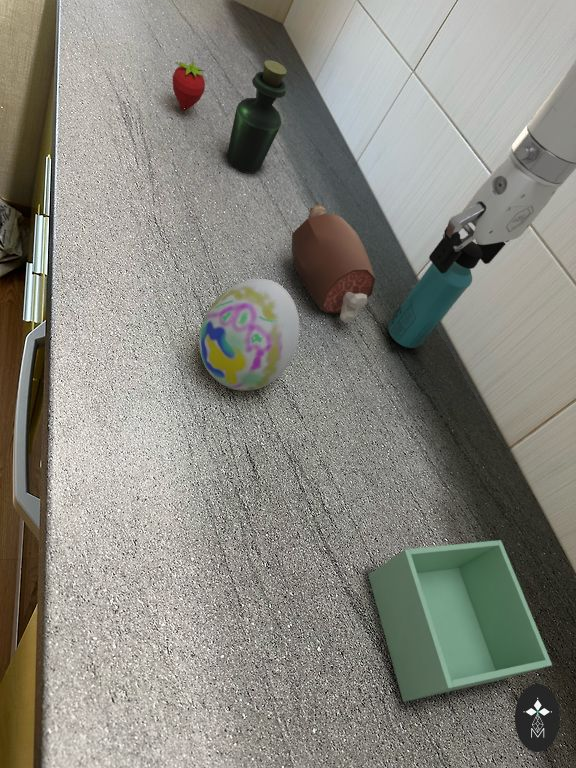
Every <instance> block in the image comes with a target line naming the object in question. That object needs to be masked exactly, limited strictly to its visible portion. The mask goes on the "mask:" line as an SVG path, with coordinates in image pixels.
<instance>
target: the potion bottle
mask: <svg viewBox="0 0 576 768" xmlns="http://www.w3.org/2000/svg"><path fill="white" fill-rule="evenodd" d="M287 72H288V71H287V69H286V67H285V66H284V65H282V64H281V63H279V62H277V61H275V60H271V59H269V60H267V59H266V60H265V61H264V63H263V70H262V71H258V72H257V73H256V74H255V75H254V76H253V78H252V80H251V83H252V86H253V87H254V88H255V89H256V91H255V93H256V94H255V97H246V98H243V99H242V100H241V101H240V102H238V104H237V106H236V108H235V114H234V119H233V123H232V128H231V133H230V137H229V143H228V147H227V148H228V149H227V153H226V158H227V162H228V163H229V164H230V166H231V167H233V168H235V169H236V170H237V171H239V172H242V173H247V174H253V173H255V174H256V173H257V172H258V171H260V170H261V168H262V166H263V164H264V161H265V160H266V157H267V155H268V153H269V151H270V149H271V147H272V145H273V143H274V141H275V139H276V136H277V135H278V132H279V131H280V129H281V125H282V116H281V114H280V112H279V110H277V108H276V106H274V103H275V102H276V100H277V99H282V98H283V97H285V96H286V92H287V86H286V83H285V82H284V81H283V79H284V77H285V76H286V74H287Z"/></svg>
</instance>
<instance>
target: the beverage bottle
mask: <svg viewBox="0 0 576 768" xmlns="http://www.w3.org/2000/svg"><path fill="white" fill-rule="evenodd" d="M462 239H463V238H460V240H462ZM460 251H461V252H462V253H461V254H460V256H459V257H458V258H457V259H456V261H455V262H454V263H453V264H452V266H451V267H450V268H449V269H448V271H447V272H446V273H440V271H439V270H438V269H437V268H436V267H435V265H434V264H433V263H432V262H431V264H430V265H429V267H428V268H427V269H426V271H425V272H424V274H422V277H420V278H418V281H417V283H416V284H415V285H414V287H412V289H411V290H410V292H409V293H408V294H407V296H406V297H405V298H404V300H403V301H402V303H401V304H400V306H398V307H397V310H395V312H394V314H393V315H392V316H391V318H390V319H389V321H388V325H387V326H388V327H387V329H388V333H389V335H390V336H391V338H392V339H393V341H395V342H396V343H397V344H399V345H400V346H402V347H405V348H407V349H414V348H417V347H420V346H421V345H423V343H425V342H426V340H427V339H428V337H429V336H430V335H431V334H432V333H433V332H434V331H435V329H436V328H437V327H438V324H441V322H442V321H443V320H444V318H445V317H446V316H447V314H448V313H449V312H450V310H452V308H453V306H454V304H456V302H458V299H460V298H461V296H462V295H463V294H464V292H465V291H466V290H467V289H468V288H470V286H471V285H472V283H473V274H472V271H471V269H475V267H476V266H477V265H478V263H479V262H480V260H481V257H482V254H483V253H482V250H481V248H480V247H479V246H478V245H477V243H476V242H475V241H474V240H473V241H471V242H470V243H469V244H467V245H466V246H465V247H463V248H462V249H461V250H460Z"/></svg>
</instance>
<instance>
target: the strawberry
mask: <svg viewBox="0 0 576 768" xmlns="http://www.w3.org/2000/svg"><path fill="white" fill-rule="evenodd" d="M189 58H190V60H191V61H192V62H191V63H189V65H188V64H187V63H183V62H181V61H180V62H175V65H178V67H177V68H175V70H174V72H173V74H172V77H171V78H172V90H173V93H174V95H175V98H176V100H177V103H178V105H179V107H180V110H182V111H183V112H187V111H188V110H189V109H190V108H192V107H194V106H195V105H196V104H197V103H198V102H199V101H200V100H201V98H202V97H203V95H204V93H205V90H206V80H205V78H204V77H205V76H204V75H203V74H202V73H201V72H206V70H204V69H202V68H200V67H197V66H195V62H194V60H193V58H192V56H189ZM184 108H185V109H184Z"/></svg>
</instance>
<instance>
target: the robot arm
mask: <svg viewBox="0 0 576 768" xmlns="http://www.w3.org/2000/svg"><path fill="white" fill-rule="evenodd" d="M575 170H576V59H575V60H574V61H573V63H572V64H571V65H570V66H569V68H568V69H567V71H566V72H565V74H564V75H563V76H562V77H561V79H560V80H559V82H558V83H557V84H556V86H555V87H554V89H553V90H552V91H551V92H550V94H549V95H548V97H547V98H546V99H545V100H544V102H543V103H542V105H540V107H539V109H538V110H536V112H535V114H534V115H533V117H531V119H530V121H529V122H528V123H527V124H526V125H525V127H524V128H523V130H522V132H520V133H519V136H517V138H516V139H515V141H514V142H513V143H512V145H511V146H510V147H509V148H508V155H507V156H506V157H505V158H504V159H503V160H502V161H501V163H500V164H499V165H498V166H497V167H496V168H495V169H494V170H493V171H492V173H491V174H490V175H489V176H488V177H487V178H486V180H484V182H483V183H482V184H481V185H480V186H479V188H478V189H477V190H476V191H475V193H474V194H473V195H472V197H471V198H470V199H469V200H468V202H467V203H466V205H465V206H464V207H463V208H462V210H461V211H460V212H458V213H457V214H455V215H453V216H451V217H450V219H449V220H448V223H447V226H446V227H445V229H444V232H443V234H442V238H441V240H440V241H439V242H438V244H437V245H436V246H435V248H434V249H433V250H432V252H431V253H430V255H428V256H429V257H428V259H429V261H430V262H431V264H432V263H433V264H434V265H435V267H436V268H437V269H438V270H439V271H440V273H446V272H447V271H448V269H449V268H450V267H451V266H452V264H453V263H454V262H455V261H456V259H457V258H458V257H459V256H460V254H461V253H462V252H461V251H460V250H461V249H462V248H463V247H465V246H466V245H467V244H469V243H470V242H471V241H473V242H474V240H475V243H476V244H477V245H478V246H479V247H480V248H481V250H482V253H483V254H482V257H481V259H480V260H481V262H482V263H483V264H484V265H488V264H491V262H492V260H494V258H495V257H496V256H497V255H498V254H499V253H500V252H501V251H502V249H503V248H504V247H506V244H507V243H508V242H510V241H513V240H516V239H518V238H520V237H521V236H522V235H523V234H524V233H525V232H526V230H527V229H528V228H529V227H530V226H531V225H532V224H533V222H534V221H535V219H536V218H537V217H539V214H540V213H541V212H542V211H543V210H544V208H545V207H546V205H547V204H548V203H549V202H550V200H551V199H552V198H553V196H554V195H555V194H556V192H557V190H558V189H559V188H560V187H562V185H563V184H564V183H565V182H566V181H567V179H568V178H569V177H570V176H571V175H572V174H573V172H575ZM469 224H472V225H473V227H474V229H473V228H472V227H471V226H470V225H469ZM461 230H463V231H464V232H465V233H466V234H467V235H466V236H465V237H463V238H461V234H460V232H461ZM460 239H462V240H460Z"/></svg>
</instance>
